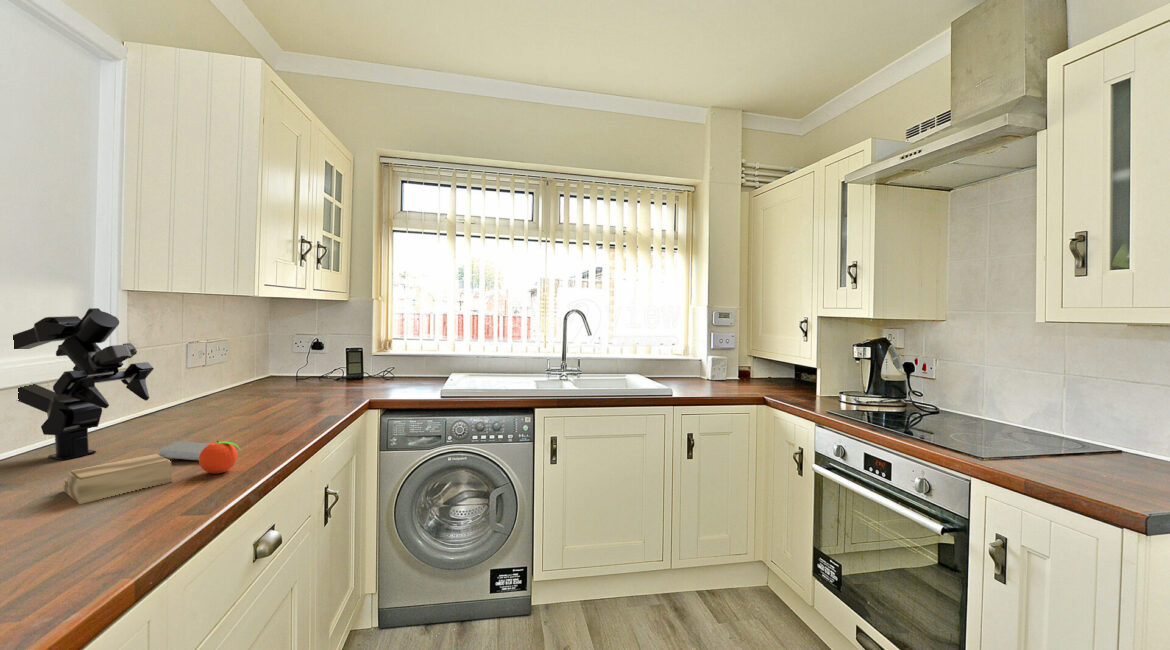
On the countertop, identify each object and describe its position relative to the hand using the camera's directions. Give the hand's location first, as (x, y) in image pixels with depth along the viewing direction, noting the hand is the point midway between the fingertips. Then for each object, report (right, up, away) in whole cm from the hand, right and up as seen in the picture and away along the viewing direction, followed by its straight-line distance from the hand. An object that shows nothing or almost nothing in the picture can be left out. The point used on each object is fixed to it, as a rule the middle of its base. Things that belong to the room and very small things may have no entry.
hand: (128, 403), depth 121 cm
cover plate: (+9, -11, +1) cm, 15 cm away
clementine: (+29, -14, -9) cm, 34 cm away
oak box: (+14, -14, -18) cm, 27 cm away
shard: (+10, -14, +2) cm, 18 cm away
